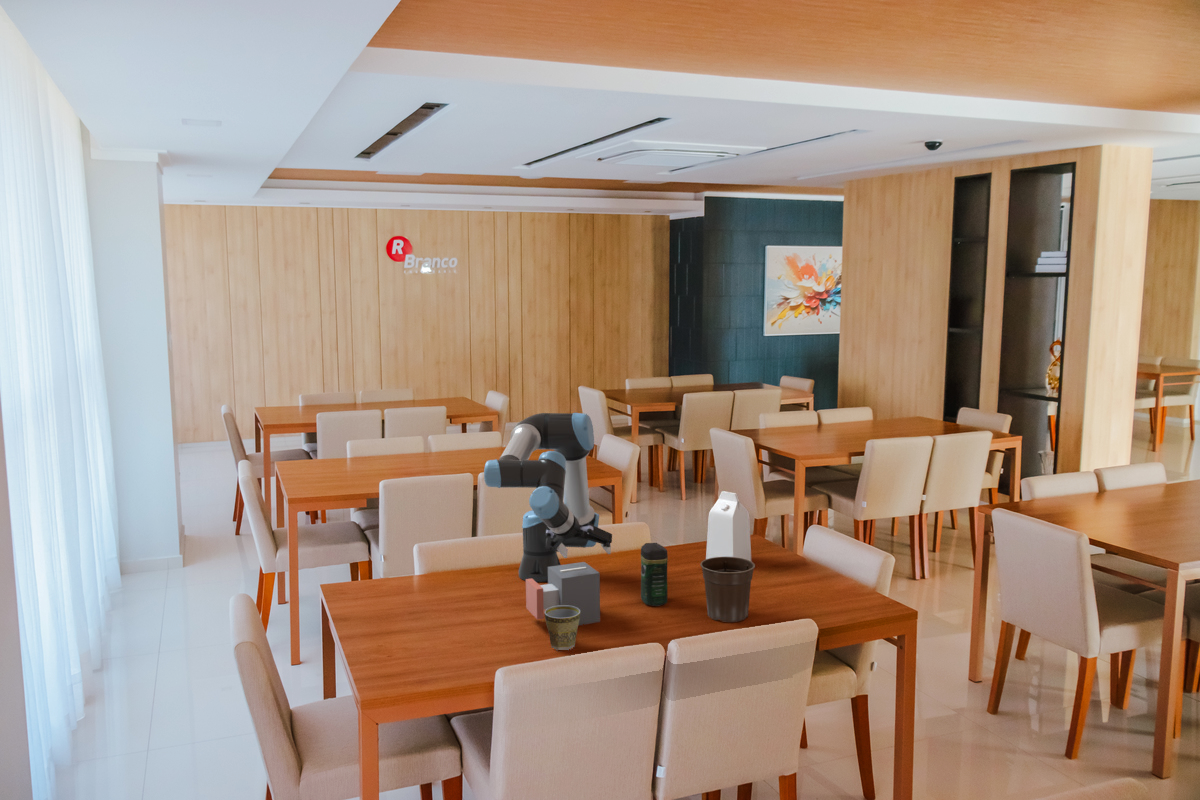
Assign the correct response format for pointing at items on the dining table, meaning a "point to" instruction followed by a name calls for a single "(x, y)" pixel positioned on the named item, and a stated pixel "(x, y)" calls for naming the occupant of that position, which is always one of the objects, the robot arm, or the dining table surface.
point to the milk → (728, 528)
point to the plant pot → (727, 587)
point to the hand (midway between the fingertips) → (587, 551)
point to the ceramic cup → (562, 626)
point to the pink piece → (540, 597)
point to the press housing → (578, 589)
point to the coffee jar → (654, 574)
